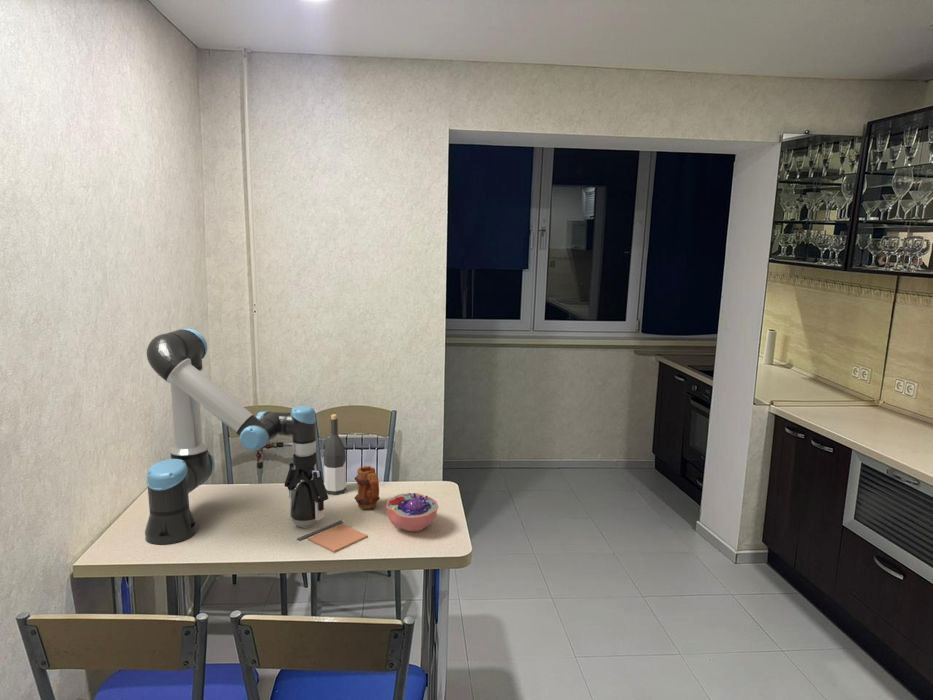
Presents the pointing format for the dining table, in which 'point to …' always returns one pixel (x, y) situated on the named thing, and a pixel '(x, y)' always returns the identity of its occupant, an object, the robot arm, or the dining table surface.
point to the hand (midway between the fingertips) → (306, 513)
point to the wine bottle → (334, 462)
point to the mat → (337, 538)
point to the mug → (367, 487)
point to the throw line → (320, 530)
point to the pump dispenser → (303, 506)
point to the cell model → (411, 511)
